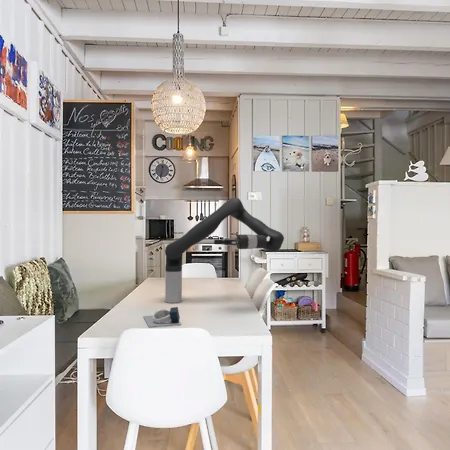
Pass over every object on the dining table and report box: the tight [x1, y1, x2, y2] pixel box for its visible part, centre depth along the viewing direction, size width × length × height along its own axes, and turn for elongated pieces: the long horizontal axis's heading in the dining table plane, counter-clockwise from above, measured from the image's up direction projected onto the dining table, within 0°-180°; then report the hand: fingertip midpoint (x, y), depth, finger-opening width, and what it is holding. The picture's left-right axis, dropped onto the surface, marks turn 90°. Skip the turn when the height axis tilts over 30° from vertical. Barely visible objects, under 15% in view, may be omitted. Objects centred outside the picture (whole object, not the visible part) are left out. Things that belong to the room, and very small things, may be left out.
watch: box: [153, 306, 181, 324], centre depth 183 cm, size 6×8×11 cm
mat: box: [142, 314, 182, 329], centre depth 187 cm, size 20×14×1 cm
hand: (214, 242), depth 206 cm, fingers closed
